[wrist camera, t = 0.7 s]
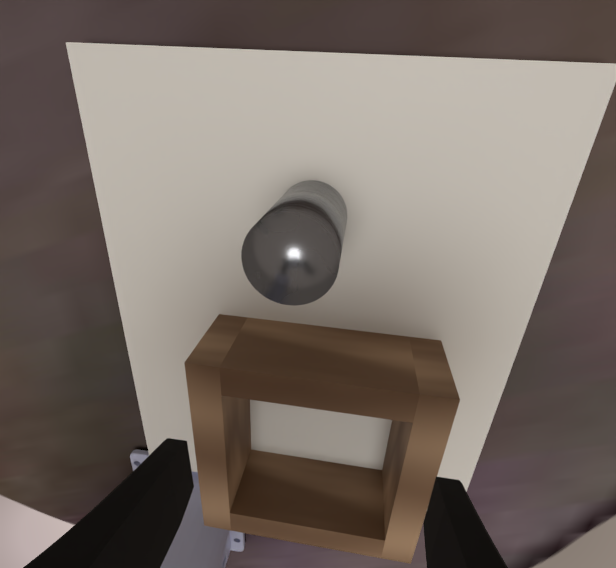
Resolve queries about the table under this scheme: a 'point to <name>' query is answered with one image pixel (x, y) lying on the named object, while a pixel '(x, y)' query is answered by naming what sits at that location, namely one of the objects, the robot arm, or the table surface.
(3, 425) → the table surface
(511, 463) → the table surface
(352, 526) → the square collar
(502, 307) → the post board
